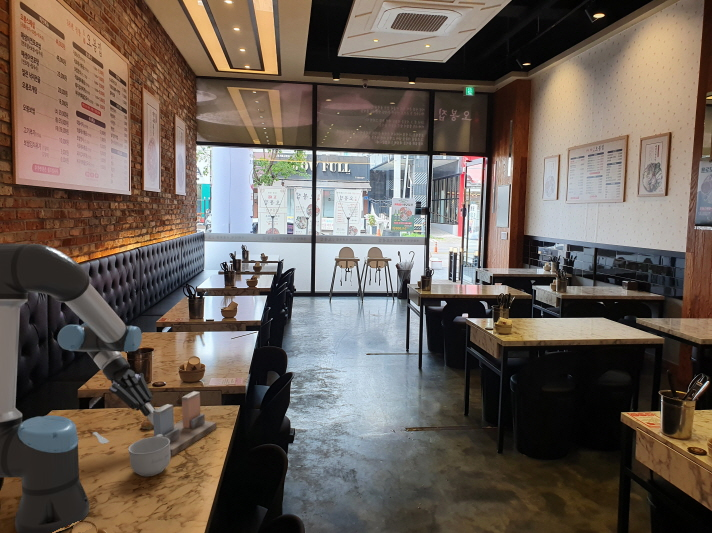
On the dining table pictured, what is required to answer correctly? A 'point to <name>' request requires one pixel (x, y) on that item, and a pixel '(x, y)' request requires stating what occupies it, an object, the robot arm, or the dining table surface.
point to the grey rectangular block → (163, 420)
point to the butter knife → (101, 438)
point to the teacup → (150, 455)
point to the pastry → (147, 424)
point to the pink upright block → (190, 407)
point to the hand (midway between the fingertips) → (157, 421)
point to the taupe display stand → (188, 433)
